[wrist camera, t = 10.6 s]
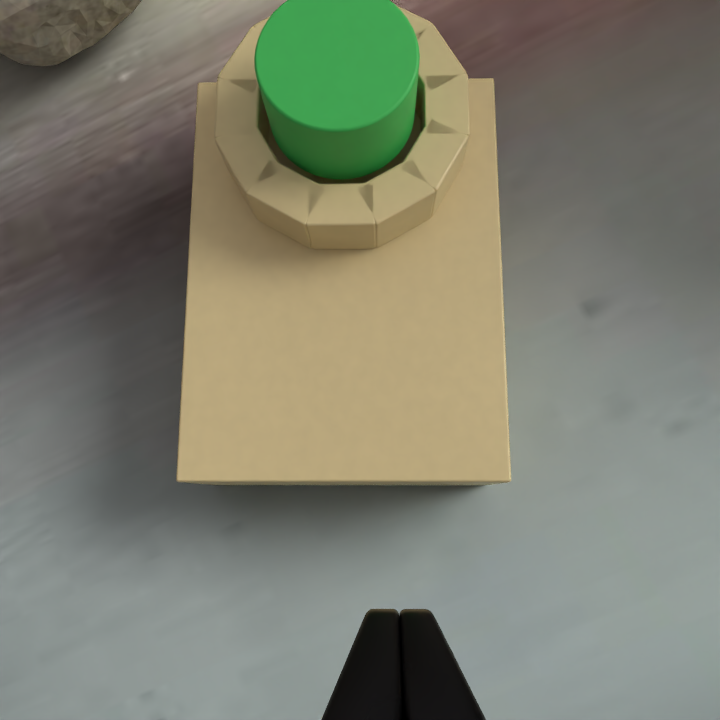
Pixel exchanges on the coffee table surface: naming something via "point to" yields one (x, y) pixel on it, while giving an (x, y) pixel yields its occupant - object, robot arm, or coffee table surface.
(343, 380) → the switch box
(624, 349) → the coffee table surface
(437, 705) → the robot arm
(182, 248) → the coffee table surface
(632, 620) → the coffee table surface
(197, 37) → the coffee table surface
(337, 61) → the light button
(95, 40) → the stone
